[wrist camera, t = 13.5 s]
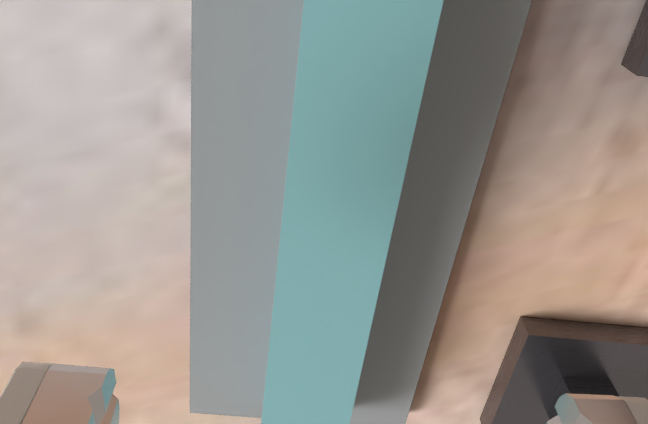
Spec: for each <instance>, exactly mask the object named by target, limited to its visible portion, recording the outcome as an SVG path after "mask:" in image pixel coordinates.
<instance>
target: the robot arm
mask: <svg viewBox="0 0 648 424" xmlns="http://www.w3.org/2000/svg"><path fill="white" fill-rule="evenodd" d="M115 384H116V378H115V372H114V369H111V368H100V367H88V366H76V365H64V364H49V363H34V362H22V363H21V364H20V365H19V366H18V367H17V368H16V369H15V371H14V372H13V374H12V376H11V378H10V380H9V382H8V384H7V385H6V387H5V389H4V391H3V393H2V395H1V396H0V424H118V423H119V401H118V398H117V397H116V396H114V395H113V394H112V393H113V390H114V387H115ZM555 408H556V411H557V413H558V415H557V416H555V417H554V418H552V419H550V420H549V421H547V423H546V424H648V400H647V399H646V398H641V397H624V396H614V395H591V394H568V393H565V394H564V395H562V396H561V397H559V399H558V401H557V403H556V405H555Z"/></svg>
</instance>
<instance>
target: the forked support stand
mask: <svg viewBox="0 0 648 424" xmlns="http://www.w3.org/2000/svg"><path fill="white" fill-rule="evenodd" d="M621 65H623V66H624V67H626V68H627V69H628V70H630V71H631V72H633V73H634V74H635V75H637V76H645V77H648V0H647V1H646V3H645V6H644V8H643V11H642V13H641V16H640V18H639V21H638V23H637V26H636V28H635V31H634V33H633V36H632V38H631V41H630V43H629V46H628V48H627V51H626V54H625V56H624V59H623V61H622V64H621ZM565 393H568V394H591V395H614V396H624V397H641V398H646V399H647V400H648V328H642V327H631V326H620V325H608V324H597V323H586V322H575V321H563V320H552V319H541V318H530V317H520V319H519V322H518V324H517V327H516V329H515V332H514V334H513V337H512V339H511V342H510V344H509V347H508V349H507V352H506V354H505V357H504V359H503V362H502V364H501V367H500V369H499V372H498V374H497V377H496V379H495V382H494V385H493V387H492V390H491V392H490V395H489V397H488V400H487V402H486V405H485V407H484V410H483V412H482V415H481V417H480V421H481V424H546V423H547V421H549V420H550V419H552V418H554V417H555V416H557V415H558V413H557V411H556V408H555V405H556V403H557V401H558V399H559V397H561V396H562V395H564V394H565Z"/></svg>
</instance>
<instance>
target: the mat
mask: <svg viewBox="0 0 648 424" xmlns="http://www.w3.org/2000/svg"><path fill="white" fill-rule="evenodd" d="M531 3H532V0H443V5H442V10H441V14H440V19H439V23H438V28H437V32H436V37H435V41H434V46H433V50H432V55H431V59H430V64H429V68H428V73H427V77H426V82H425V86H424V91H423V95H422V100H421V104H420V109H419V113H418V118H417V122H416V127H415V131H414V136H413V140H412V145H411V149H410V154H409V158H408V163H407V167H406V172H405V176H404V181H403V185H402V190H401V194H400V199H399V203H398V208H397V212H396V217H395V221H394V226H393V230H392V235H391V239H390V244H389V248H388V253H387V257H386V262H385V266H384V271H383V275H382V280H381V284H380V289H379V293H378V298H377V302H376V307H375V312H374V316H373V321H372V325H371V330H370V334H369V339H368V343H367V348H366V352H365V357H364V361H363V366H362V370H361V375H360V379H359V384H358V388H357V393H356V397H355V402H354V406H353V411H352V415H351V420H350V424H405V423H406V420H407V417H408V413H409V410H410V407H411V403H412V400H413V397H414V393H415V390H416V387H417V383H418V380H419V377H420V373H421V370H422V367H423V363H424V360H425V357H426V353H427V350H428V347H429V343H430V340H431V337H432V333H433V330H434V327H435V323H436V320H437V317H438V313H439V310H440V307H441V303H442V300H443V297H444V293H445V290H446V287H447V283H448V280H449V277H450V273H451V270H452V267H453V263H454V260H455V257H456V253H457V250H458V247H459V243H460V240H461V237H462V233H463V230H464V227H465V223H466V220H467V217H468V213H469V210H470V206H471V203H472V200H473V196H474V193H475V190H476V186H477V183H478V180H479V176H480V173H481V170H482V166H483V163H484V160H485V156H486V153H487V150H488V146H489V143H490V140H491V136H492V133H493V130H494V126H495V123H496V120H497V116H498V113H499V110H500V106H501V103H502V100H503V96H504V93H505V90H506V86H507V83H508V80H509V76H510V73H511V70H512V66H513V63H514V60H515V56H516V53H517V50H518V46H519V43H520V40H521V36H522V33H523V30H524V26H525V23H526V20H527V16H528V13H529V10H530V6H531ZM303 4H304V0H192V60H191V283H190V413H201V414H214V415H228V416H241V417H255V418H262V411H263V401H264V391H265V381H266V371H267V361H268V351H269V341H270V331H271V321H272V311H273V301H274V292H275V282H276V272H277V262H278V252H279V242H280V232H281V222H282V212H283V202H284V192H285V182H286V172H287V163H288V153H289V143H290V133H291V123H292V113H293V103H294V93H295V83H296V73H297V63H298V53H299V43H300V34H301V24H302V14H303Z"/></svg>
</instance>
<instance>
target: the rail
mask: <svg viewBox="0 0 648 424" xmlns="http://www.w3.org/2000/svg"><path fill="white" fill-rule="evenodd" d="M442 5H443V0H304V4H303V14H302V24H301V34H300V43H299V53H298V63H297V73H296V83H295V93H294V103H293V113H292V123H291V133H290V143H289V153H288V163H287V172H286V182H285V192H284V202H283V212H282V222H281V232H280V242H279V252H278V262H277V272H276V282H275V292H274V301H273V311H272V321H271V331H270V341H269V351H268V361H267V371H266V381H265V391H264V401H263V411H262V421H261V424H350V420H351V415H352V411H353V406H354V402H355V397H356V393H357V388H358V384H359V379H360V375H361V370H362V366H363V361H364V357H365V352H366V348H367V343H368V339H369V334H370V330H371V325H372V321H373V316H374V312H375V307H376V302H377V298H378V293H379V289H380V284H381V280H382V275H383V271H384V266H385V262H386V257H387V253H388V248H389V244H390V239H391V235H392V230H393V226H394V221H395V217H396V212H397V208H398V203H399V199H400V194H401V190H402V185H403V181H404V176H405V172H406V167H407V163H408V158H409V154H410V149H411V145H412V140H413V136H414V131H415V127H416V122H417V118H418V113H419V109H420V104H421V100H422V95H423V91H424V86H425V82H426V77H427V73H428V68H429V64H430V59H431V55H432V50H433V46H434V41H435V37H436V32H437V28H438V23H439V19H440V14H441V10H442Z"/></svg>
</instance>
